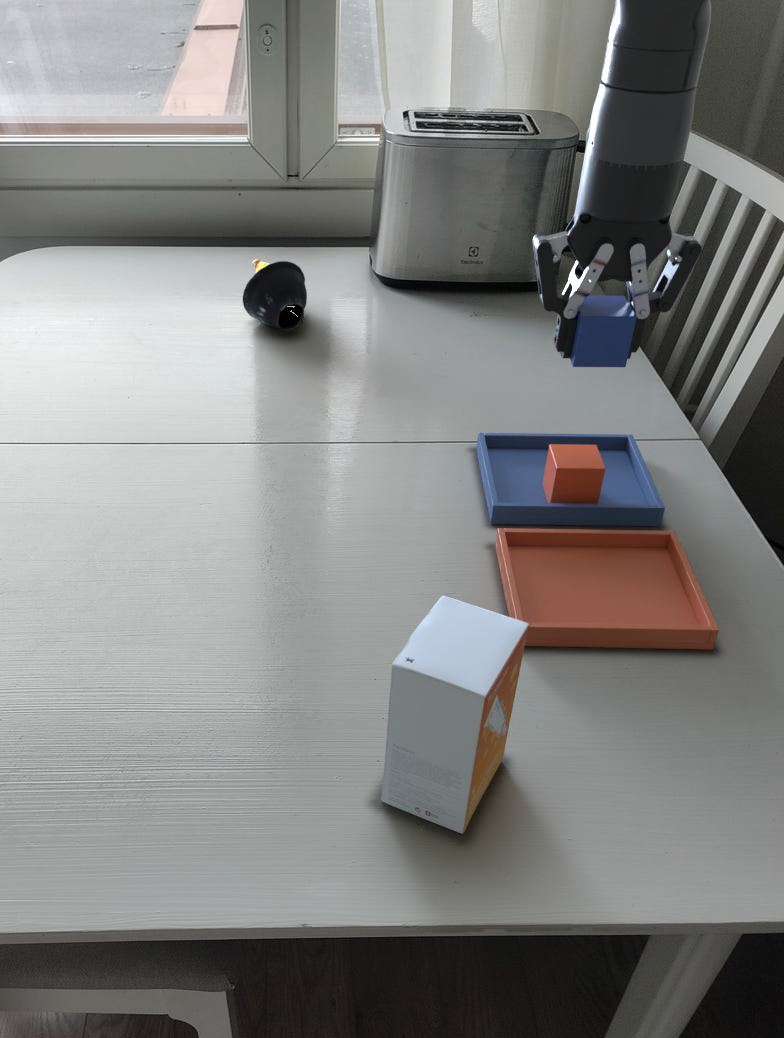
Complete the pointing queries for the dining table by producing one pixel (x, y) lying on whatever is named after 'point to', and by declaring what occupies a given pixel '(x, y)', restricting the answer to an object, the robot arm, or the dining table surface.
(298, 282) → the fried shrimp in bowl
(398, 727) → the small box
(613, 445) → the blue tray
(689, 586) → the clay tray
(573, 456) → the clay block
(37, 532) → the dining table surface
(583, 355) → the blue block
